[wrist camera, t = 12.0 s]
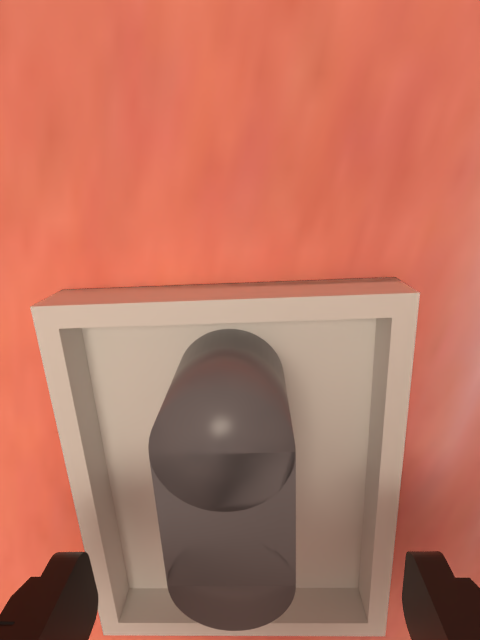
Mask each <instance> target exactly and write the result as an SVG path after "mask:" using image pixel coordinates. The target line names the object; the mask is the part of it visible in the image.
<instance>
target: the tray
mask: <svg viewBox="0 0 480 640" xmlns="http://www.w3.org/2000/svg"><path fill="white" fill-rule="evenodd" d="M419 298H420V292H418V291H416V290H415V289H413V288H412V287H410V286H409V285H407V284H405V283H404V282H402V281H401V280H399V279H397V278H396V277H385V278H359V279H332V280H305V281H279V282H252V283H226V284H199V285H172V286H146V287H119V288H92V289H66V290H61V291H59V292H57V293H55V294H53V295H51V296H49V297H47V298H46V299H44V300H42V301H40V302H38V303H36V304H34V305H32V306H30V308H31V312H32V317H33V321H34V326H35V330H36V335H37V339H38V344H39V348H40V353H41V357H42V362H43V366H44V371H45V375H46V380H47V384H48V389H49V393H50V398H51V402H52V406H53V411H54V415H55V420H56V424H57V429H58V433H59V438H60V442H61V447H62V451H63V456H64V460H65V465H66V469H67V474H68V478H69V483H70V487H71V492H72V496H73V500H74V505H75V509H76V514H77V518H78V523H79V527H80V532H81V536H82V541H83V545H84V550H85V552H87V553H88V555H89V558H90V562H91V566H92V570H93V574H94V579H95V583H96V587H97V591H98V612H99V617H100V621H101V626H102V630H103V635H158V636H385V634H386V624H387V614H388V604H389V594H390V585H391V575H392V565H393V555H394V545H395V535H396V525H397V515H398V506H399V496H400V486H401V476H402V466H403V456H404V446H405V436H406V426H407V417H408V407H409V397H410V387H411V377H412V367H413V357H414V347H415V338H416V328H417V318H418V308H419ZM220 329H239V330H244V331H247V332H250V333H253V334H255V335H257V336H259V337H260V338H262V339H263V340H265V341H266V342H267V343H268V344H269V345H270V346H271V347H272V348H273V349H274V351H275V352H276V353H277V355H278V357H279V359H280V361H281V364H282V367H283V372H284V378H285V385H286V391H287V397H288V403H289V409H290V416H291V422H292V428H293V434H294V441H295V449H296V590H295V595H294V599H293V601H292V603H291V605H290V606H289V608H288V609H287V610H286V611H285V612H284V613H283V614H282V615H281V616H280V617H279V618H277V619H276V620H274V621H273V622H271V623H269V624H267V625H264V626H261V627H259V628H255V629H251V630H244V631H226V630H218V629H214V628H210V627H207V626H204V625H202V624H200V623H197V622H195V621H194V620H192V619H190V618H189V617H188V616H186V615H185V614H184V613H183V612H181V611H180V610H179V609H178V607H177V606H176V605H175V604H174V602H173V600H172V599H171V596H170V594H169V591H168V587H167V580H166V573H165V566H164V559H163V552H162V545H161V538H160V531H159V524H158V517H157V509H156V502H155V495H154V488H153V481H152V474H151V467H150V460H149V450H148V444H149V437H150V433H151V430H152V427H153V425H154V422H155V420H156V418H157V415H158V413H159V411H160V408H161V406H162V404H163V401H164V399H165V396H166V394H167V392H168V389H169V387H170V385H171V382H172V380H173V378H174V375H175V373H176V370H177V368H178V366H179V363H180V361H181V359H182V356H183V354H184V353H185V351H186V350H187V348H188V347H189V346H190V345H191V344H192V343H193V342H194V341H195V340H197V339H198V338H199V337H201V336H203V335H205V334H207V333H209V332H212V331H216V330H220Z"/></svg>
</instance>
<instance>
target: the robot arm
mask: <svg viewBox="0 0 480 640" xmlns="http://www.w3.org/2000/svg"><path fill="white" fill-rule="evenodd" d="M402 603H403V611H404V616H405V620H406V624H407V628H408V631H409V634H410V637H411V640H480V588H479V587H478V586H477V585H476V584H475V583H474V582H473V581H472V580H471V579H470V578H455V577H454V575H453V573H452V571H451V569H450V567H449V565H448V563H447V561H446V559H445V557H444V556H443V554H442V553H441V552H438V551H435V552H407V554H406V560H405V570H404V581H403V591H402ZM97 610H98V591H97V587H96V583H95V579H94V574H93V570H92V566H91V562H90V558H89V555H88V553H87V552H57V553H55V554H54V555H53V556H52V558H51V559H50V561H49V562H48V564H47V566H46V568H45V570H44V571H43V573H42V575H41V577H30V578H29V579H28V580H27V581H26V582H25V583H24V584H23V585H22V586H21V587H20V588H19V589H18V590H17V591H16V592H15V593H14V594H13V595H12V596H11V598H10V599H9V601H8V602H7V604H6V606H5V607H4V609H3V611H2V612H1V614H0V640H88V639H89V636H90V633H91V631H92V628H93V625H94V623H95V619H96V615H97Z"/></svg>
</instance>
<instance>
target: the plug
mask: <svg viewBox="0 0 480 640" xmlns="http://www.w3.org/2000/svg"><path fill="white" fill-rule="evenodd" d="M148 450H149V460H150V467H151V474H152V481H153V488H154V495H155V502H156V509H157V517H158V524H159V531H160V538H161V545H162V552H163V559H164V566H165V573H166V580H167V587H168V591H169V594H170V596H171V599H172V600H173V602H174V604H175V605H176V606H177V607H178V609H179V610H180V611H181V612H183V613H184V614H185V615H186V616H188V617H189V618H190V619H192V620H194V621H195V622H197V623H200V624H202V625H204V626H207V627H210V628H214V629H218V630H226V631H244V630H251V629H255V628H259V627H261V626H264V625H267V624H269V623H271V622H273V621H274V620H276V619H277V618H279V617H280V616H281V615H282V614H283V613H284V612H285V611H286V610H287V609H288V608H289V606H290V605H291V603H292V601H293V599H294V595H295V590H296V449H295V441H294V434H293V428H292V422H291V416H290V409H289V403H288V397H287V391H286V385H285V378H284V372H283V367H282V364H281V361H280V359H279V357H278V355H277V353H276V352H275V351H274V349H273V348H272V347H271V346H270V345H269V344H268V343H267V342H266V341H265V340H263V339H262V338H260V337H259V336H257V335H255V334H253V333H250V332H247V331H244V330H239V329H220V330H216V331H212V332H209V333H207V334H205V335H203V336H201V337H199V338H198V339H197V340H195V341H194V342H193V343H192V344H191V345H190V346H189V347H188V348H187V350H186V351H185V353H184V354H183V356H182V359H181V361H180V363H179V366H178V368H177V370H176V373H175V375H174V378H173V380H172V382H171V385H170V387H169V389H168V392H167V394H166V396H165V399H164V401H163V404H162V406H161V408H160V411H159V413H158V415H157V418H156V420H155V422H154V425H153V427H152V430H151V433H150V437H149V444H148Z"/></svg>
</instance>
